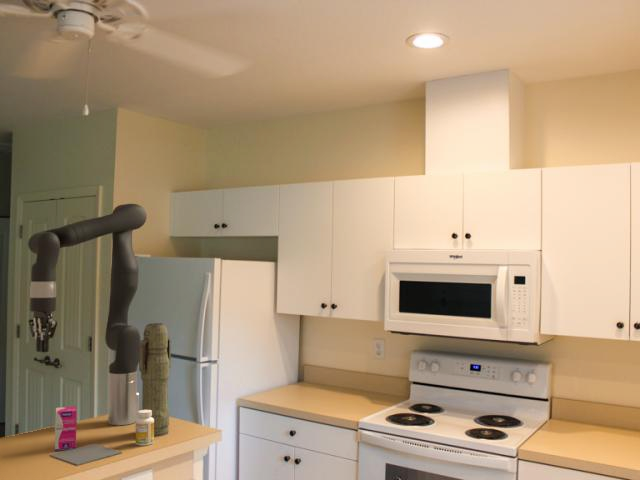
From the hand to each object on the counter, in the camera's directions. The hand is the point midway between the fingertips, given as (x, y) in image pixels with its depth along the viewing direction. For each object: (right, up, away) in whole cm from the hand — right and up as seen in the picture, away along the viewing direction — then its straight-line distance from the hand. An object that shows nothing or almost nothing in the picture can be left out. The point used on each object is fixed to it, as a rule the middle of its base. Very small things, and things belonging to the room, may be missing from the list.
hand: (42, 351), depth 194 cm
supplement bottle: (+33, -27, -5) cm, 43 cm away
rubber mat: (+20, -26, -16) cm, 37 cm away
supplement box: (+11, -27, -10) cm, 31 cm away
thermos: (+33, -28, +6) cm, 44 cm away
